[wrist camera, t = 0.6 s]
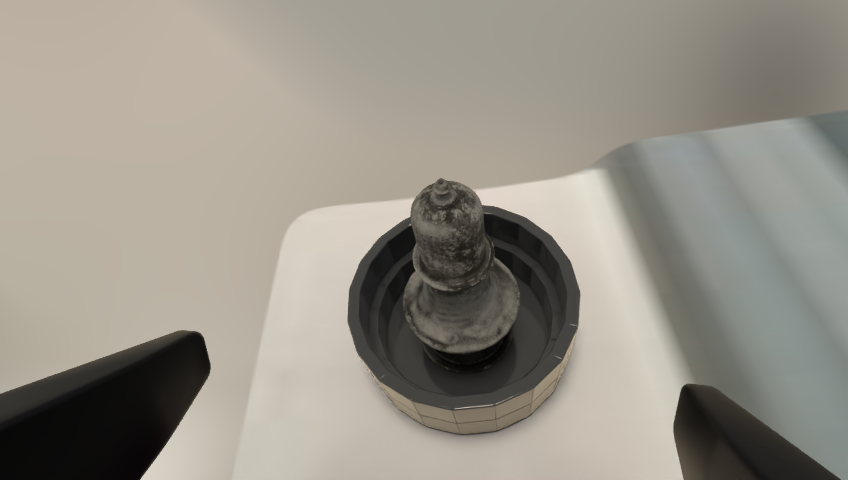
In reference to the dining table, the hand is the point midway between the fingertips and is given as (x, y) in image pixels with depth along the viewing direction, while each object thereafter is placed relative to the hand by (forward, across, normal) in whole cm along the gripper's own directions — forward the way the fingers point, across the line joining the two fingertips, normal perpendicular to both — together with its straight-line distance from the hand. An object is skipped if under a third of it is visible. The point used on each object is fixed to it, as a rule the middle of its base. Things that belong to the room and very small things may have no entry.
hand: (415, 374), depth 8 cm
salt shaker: (+15, +1, +9) cm, 17 cm away
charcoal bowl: (+15, +1, +9) cm, 17 cm away
